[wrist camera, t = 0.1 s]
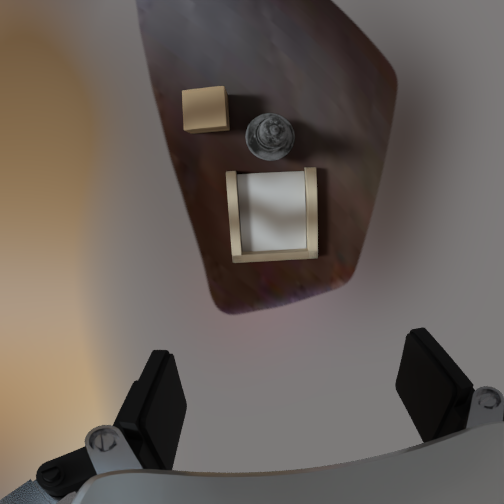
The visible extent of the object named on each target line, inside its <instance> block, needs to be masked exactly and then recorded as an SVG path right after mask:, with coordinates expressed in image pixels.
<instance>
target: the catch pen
mask: <svg viewBox="0 0 504 504" xmlns="http://www.w3.org/2000/svg"><path fill="white" fill-rule="evenodd" d="M226 181H227V195H228V209H229V222H230V234H231V247H232V259H233V263H239V262H258V261H276V260H293V259H310V258H318V215H317V178H316V168H314V167H309V168H305V175H304V171H298V172H272V173H253V174H237V175H236V171H227V172H226ZM237 181H238V190H237ZM305 191H306V202H305ZM238 196H239V205H238ZM239 210H240V219H239ZM240 225H241V233H240ZM306 228H307V248H306ZM241 239H242V247H241Z"/></svg>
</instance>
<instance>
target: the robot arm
mask: <svg viewBox="0 0 504 504" xmlns="http://www.w3.org/2000/svg"><path fill="white" fill-rule="evenodd" d="M396 390H397V392H398V394H399V396H400V398H401V400H402V402H403V404H404V405H405V407H406V409H407V411H408V413H409V415H410V416H411V419H412V421H413V423H414V425H415V426H416V429H417V430H418V432H419V434H420V436H421V438H422V440H423V442H424V443H422V444H419V445H416V446H413V447H409V448H406V449H402V450H399V451H395V452H391V453H387V454H383V455H379V456H375V457H370V458H366V459H361V460H357V461H351V462H346V463H340V464H334V465H328V466H321V467H313V468H306V469H296V470H286V471H272V472H249V473H215V472H188V471H174V470H172V468H173V463H174V459H175V455H176V451H177V447H178V442H179V438H180V434H181V429H182V426H183V421H184V418H185V414H186V409H187V404H186V399H185V396H184V392H183V389H182V385H181V381H180V378H179V374H178V370H177V366H176V363H175V359H174V356H173V354H169V352H168V351H167V350H153V352H152V353H151V355H150V357H149V359H148V361H147V363H146V366H145V368H144V370H143V372H142V374H141V376H140V378H139V380H138V381H134V383H133V384H132V386H131V388H130V391H129V392H128V395H127V397H126V399H125V401H124V403H123V405H122V407H121V409H120V411H119V413H118V415H117V418H116V420H115V422H114V424H113V426H111V425H102V426H98V427H96V428H94V429H92V430H91V431H90V432H89V433H88V434H87V436H86V438H85V447H83V448H80V449H78V450H76V451H73V452H71V453H68V454H66V455H63V456H61V457H58V458H56V459H53V460H50V461H48V462H46V463H44V464H42V465H41V466H40V467H39V469H38V471H37V474H36V480H35V481H32V480H31V479H30V480H29V481H27V482H26V483H24V484H23V485H22V486H20V487H19V488H17V489H16V490H14V491H13V492H11V493H10V494H8V495H7V496H5V497H4V498H2V499H1V500H0V504H504V397H503V395H502V393H501V392H500V391H499V390H497V389H495V388H493V387H488V386H484V387H480V388H478V389H477V390H476V391H475V390H474V388H473V384H472V382H471V381H470V380H469V379H468V377H467V376H466V375H465V374H464V373H463V372H462V370H461V369H460V368H459V367H458V365H457V364H456V363H455V362H454V361H453V359H452V358H451V357H450V356H449V355H448V354H447V353H446V351H445V350H444V349H443V348H442V347H441V346H440V344H439V343H438V342H437V341H436V340H435V339H434V338H433V337H432V335H431V334H430V333H429V332H428V331H427V330H426V329H425V328H418V329H412V330H411V331H410V333H409V334H407V336H406V340H405V345H404V350H403V355H402V359H401V363H400V367H399V371H398V375H397V379H396Z"/></svg>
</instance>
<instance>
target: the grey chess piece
mask: <svg viewBox="0 0 504 504" xmlns="http://www.w3.org/2000/svg"><path fill="white" fill-rule="evenodd" d="M245 138H246V143H247V146H248V148H249V150H250V151H251V152H252V153H253V154H254V155H255V156H257V157H258V158H261V159H263V160H270V161H272V160H278V159H280V158H282V157H284V156H285V155H287V154H288V153H289V152H290V150H291V149H292V147H293V144H294V139H295V135H294V130H293V128H292V126H291V124H290V123H289V122H288V120H287V119H285V118H284V117H282V116H280V115H278V114H273V113H267V114H262V115H259V116H257V117H256V118H254V119H253V120H252V121H251V122H250V124H249V125H248V127H247V130H246V137H245Z"/></svg>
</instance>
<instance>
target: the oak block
mask: <svg viewBox="0 0 504 504" xmlns="http://www.w3.org/2000/svg"><path fill="white" fill-rule="evenodd" d="M182 102H183V122H184V131H187V132H189V133H191V134H196V133H206V132H216V131H227V130H230V126H229V109H228V94H227V92H226V89H225V87H224V86H217V87H207V88H199V89H191V90H184V91H182Z"/></svg>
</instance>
